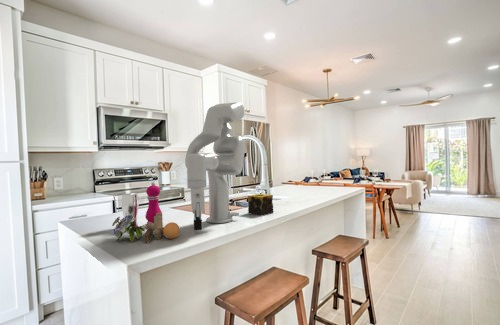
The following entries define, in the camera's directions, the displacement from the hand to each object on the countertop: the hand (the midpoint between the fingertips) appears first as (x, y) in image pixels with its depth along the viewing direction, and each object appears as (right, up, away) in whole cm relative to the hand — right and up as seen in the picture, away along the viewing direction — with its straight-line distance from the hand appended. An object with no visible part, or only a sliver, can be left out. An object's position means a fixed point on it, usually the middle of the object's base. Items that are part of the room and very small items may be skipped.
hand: (197, 229), depth 105 cm
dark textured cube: (+27, -1, +38) cm, 46 cm away
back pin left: (-14, -2, -6) cm, 15 cm away
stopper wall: (-18, -2, -4) cm, 19 cm away
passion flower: (-25, -2, -6) cm, 26 cm away
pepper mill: (-23, -2, +15) cm, 27 cm away
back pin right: (-15, -2, -1) cm, 15 cm away
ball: (-9, +1, -6) cm, 11 cm away
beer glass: (-33, -2, +12) cm, 35 cm away
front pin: (-11, -1, -3) cm, 11 cm away
